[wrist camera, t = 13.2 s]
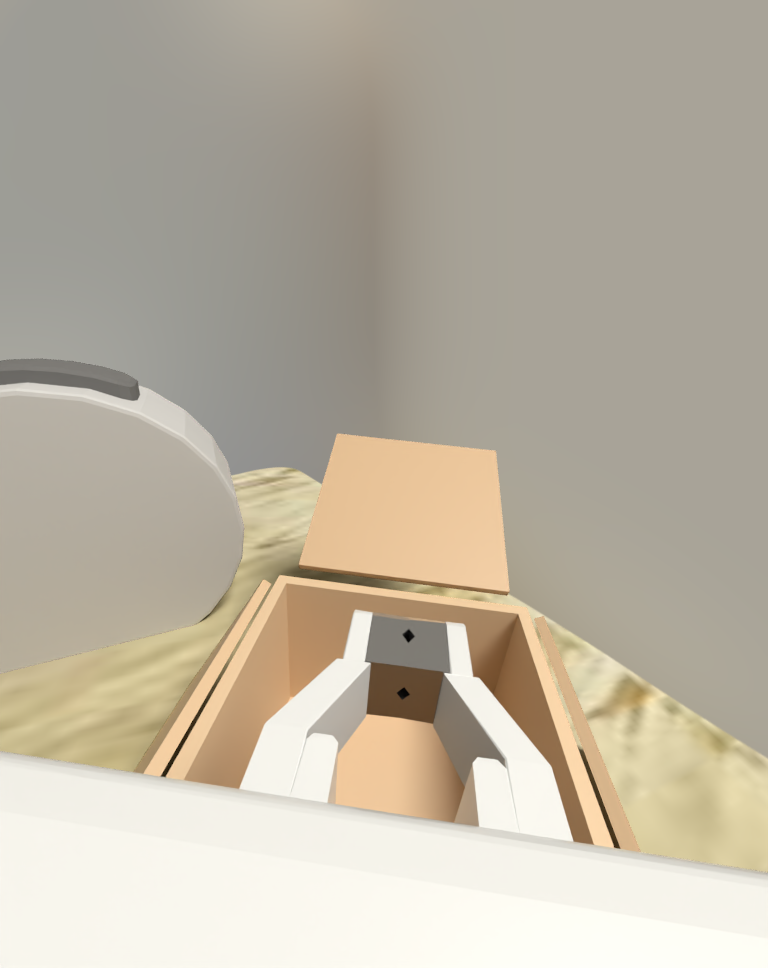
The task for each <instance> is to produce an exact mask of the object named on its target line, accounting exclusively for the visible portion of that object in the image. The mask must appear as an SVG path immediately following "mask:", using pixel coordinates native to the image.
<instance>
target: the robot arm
mask: <svg viewBox="0 0 768 968" xmlns="http://www.w3.org/2000/svg"><path fill="white" fill-rule="evenodd" d="M366 714H369V715H378V716H387V717H395V718H402V719H408V720H414V721H420V722H425V723H431V724H433V727H434V729H435V731H436V733H437V734H438V736H439V738H440V740H441V742H442V744H443V746H444V748H445V750H446V752H447V754H448V756H449V758H450V760H451V762H452V763H453V765H454V767H455V769H456V771H457V773H458V775H459V777H460V779H461V781H462V783H463V785H464V787H465V789H464V792H463V796H462V799H461V802H460V805H459V809H458V812H457V815H456V818H455V821H454V823H453V822H447V821H440V820H434V819H428V818H421V817H415V816H409V815H402V814H396V813H389V812H383V811H377V810H370V809H364V808H358V807H351V806H345V805H338V804H335V800H336V781H337V761H338V753H339V752H340V751H341V749H342V748H343V747H344V745H345V744H346V743H347V741H348V740H349V739H350V737H351V736H352V735H353V733H354V732H355V731H356V729H357V728H358V727H359V725H360V724H361V723H362V721H363V720H364V719H365V717H366ZM0 968H768V872H763V871H757V870H751V869H744V868H738V867H732V866H725V865H719V864H713V863H706V862H700V861H694V860H687V859H681V858H675V857H668V856H662V855H656V854H649V853H643V852H636V851H630V850H624V849H617V848H611V847H605V846H598V845H592V844H586V843H579V842H573V838H572V835H571V831H570V828H569V825H568V821H567V818H566V814H565V811H564V808H563V804H562V801H561V797H560V794H559V791H558V787H557V784H556V780H555V777H554V774H553V770H552V767H551V765H550V764H549V763H548V762H547V760H546V759H545V758H544V757H543V756H542V754H541V753H540V752H539V751H538V749H537V748H536V747H535V746H534V745H533V743H532V742H531V741H530V740H529V738H528V737H527V736H526V735H525V733H524V732H523V731H522V730H521V729H520V727H519V726H518V725H517V724H516V722H515V721H514V720H513V719H512V718H511V716H510V715H509V714H508V713H507V711H506V710H505V709H504V708H503V706H502V705H501V704H500V703H499V702H498V700H497V699H496V698H495V697H494V695H493V694H492V693H491V692H490V691H489V689H488V688H487V687H486V686H485V684H484V683H483V682H482V681H481V679H480V678H477V677H473V672H472V665H471V659H470V652H469V646H468V639H467V632H466V627H465V625H464V624H462V623H453V622H444V621H435V620H427V619H419V618H411V617H402V616H396V615H390V614H383V613H377V612H367V611H361V610H355V611H354V613H353V616H352V620H351V625H350V629H349V633H348V638H347V642H346V646H345V650H344V655H343V659H339V658H337V659H336V660H335V661H333V662H332V663H331V664H330V665H329V666H328V667H327V668H326V669H325V670H323V671H322V672H321V673H320V674H319V675H318V676H317V677H316V678H315V679H313V680H312V681H311V682H310V683H309V684H308V685H307V686H306V687H305V688H303V689H302V690H301V691H300V692H299V693H298V694H297V695H296V696H295V697H293V698H292V699H291V700H290V701H289V702H288V703H287V704H286V705H285V706H284V707H282V708H281V709H280V710H279V711H278V712H277V713H276V714H275V715H274V716H272V717H271V718H270V719H269V720H268V721H267V722H266V723H265V724H264V727H263V729H262V732H261V735H260V737H259V740H258V742H257V745H256V747H255V750H254V752H253V755H252V757H251V760H250V762H249V765H248V768H247V770H246V773H245V775H244V778H243V780H242V783H241V785H240V788H239V789H237V788H230V787H224V786H218V785H211V784H205V783H199V782H192V781H186V780H180V779H173V778H167V777H161V776H154V775H148V774H142V773H135V772H129V771H123V770H116V769H110V768H104V767H97V766H91V765H85V764H79V763H72V762H66V761H60V760H53V759H47V758H41V757H35V756H28V755H22V754H16V753H9V752H3V751H0Z"/></svg>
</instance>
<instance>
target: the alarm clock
mask: <svg viewBox="0 0 768 968" xmlns="http://www.w3.org/2000/svg"><path fill="white" fill-rule="evenodd" d="M243 539H244V524H243V520H242V516H241V512H240V509H239V505H238V501H237V497H236V493H235V489H234V485H233V481H232V477H231V474H230V470H229V466H228V462H227V460H226V459H225V457H224V455H223V454H222V452H221V451H220V449H219V447H218V446H217V444H216V442H215V441H214V439H213V437H212V436H211V435H210V434H209V433H208V432H207V431H206V430H205V429H204V428H203V427H202V426H201V425H200V424H199V423H198V422H197V421H196V420H195V419H194V418H193V417H192V416H191V415H190V414H189V413H188V412H186V411H185V410H184V409H182V408H180V407H179V406H177V405H175V404H174V403H172V402H170V401H169V400H167V399H165V398H164V397H162V396H160V395H158V394H157V393H155V392H153V391H152V390H150V389H147V388H144V387H141V386H138V381H137V380H135V379H134V378H132V377H131V376H129V375H127V374H125V373H123V372H119V371H116V370H112V369H109V368H105V367H101V366H96V365H90V364H85V363H79V362H74V361H63V360H51V359H14V360H3V361H0V674H1V673H5V672H9V671H13V670H17V669H21V668H25V667H29V666H33V665H37V664H41V663H45V662H49V661H53V660H57V659H61V658H65V657H69V656H73V655H77V654H81V653H85V652H89V651H93V650H97V649H101V648H105V647H109V646H113V645H117V644H121V643H125V642H129V641H133V640H137V639H141V638H145V637H149V636H153V635H157V634H161V633H165V632H169V631H173V630H177V629H181V628H185V627H189V626H193V625H195V624H197V623H199V622H200V621H201V620H202V619H203V618H205V617H206V616H207V615H208V614H209V613H211V611H212V610H213V609H214V607H215V606H216V605H217V603H218V602H219V601H220V599H221V598H222V597H223V595H224V594H225V593H226V592H227V590H228V589H229V588H230V586H231V584H232V582H233V579H234V577H235V574H236V572H237V569H238V567H239V564H240V562H241V559H242V552H243Z"/></svg>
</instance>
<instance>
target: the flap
mask: <svg viewBox="0 0 768 968" xmlns="http://www.w3.org/2000/svg"><path fill="white" fill-rule="evenodd" d="M299 568H300V569H308V570H315V571H323V572H331V573H339V574H346V575H354V576H362V577H369V578H377V579H385V580H392V581H400V582H408V583H416V584H423V585H431V586H439V587H446V588H454V589H462V590H469V591H477V592H485V593H493V594H500V595H508V593H509V583H508V571H507V561H506V551H505V540H504V531H503V520H502V509H501V499H500V489H499V479H498V468H497V459H496V451H492V450H483V449H473V448H465V447H455V446H445V445H436V444H428V443H419V442H418V443H417V442H410V441H400V440H390V439H382V438H373V437H363V436H354V435H345V434H337V437H336V440H335V443H334V447H333V450H332V454H331V457H330V460H329V464H328V467H327V470H326V474H325V477H324V480H323V484H322V487H321V490H320V494H319V497H318V501H317V504H316V507H315V511H314V514H313V517H312V521H311V524H310V527H309V531H308V534H307V538H306V541H305V544H304V548H303V551H302V554H301V558H300V561H299Z"/></svg>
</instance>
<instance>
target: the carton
mask: <svg viewBox="0 0 768 968" xmlns="http://www.w3.org/2000/svg"><path fill="white" fill-rule="evenodd" d="M270 585H271V583H269V582H268V581H266V580H264V579H263V581H262V582H261V583H260V585H259V586H258V588H257V589H256V591H255V592H254V593H253V595H252V596H251V598H250V599H249V600H248V602H247V603H246V605H245V606H244V608H243V609H242V610H241V612H240V613H239V615H238V616H237V618H236V619H235V620H234V622H233V623H232V625H231V626H230V628H229V629H228V630H227V632H226V633H225V635H224V636H223V638H222V639H221V640H220V642H219V643H218V645H217V646H216V648H215V649H214V650H213V652H212V653H211V655H210V656H209V658H208V659H207V660H206V662H205V663H204V665H203V666H202V668H201V669H200V670H199V672H198V673H197V675H196V676H195V677H194V679H193V680H192V682H191V683H190V685H189V686H188V688H187V689H186V691H185V692H184V694H183V695H182V697H181V699H180V700H179V702H178V703H177V705H176V706H175V708H174V709H173V711H172V713H171V714H170V716H169V717H168V719H167V720H166V722H165V723H164V725H163V727H162V728H161V730H160V731H159V733H158V734H157V736H156V737H155V739H154V741H153V742H152V744H151V745H150V747H149V748H148V750H147V752H146V753H145V755H144V756H143V758H142V759H141V761H140V762H139V764H138V766H137V767H136V769H135V770H134V772H135V773H142V774H148V775H154V776H161V774H162V773H163V771H164V769H165V768H166V766H167V764H168V762H169V761H170V759H171V757H172V755H173V754H174V752H175V750H176V748H177V747H178V745H179V743H180V742H181V740H182V738H183V736H184V735H185V733H186V731H187V729H188V728H189V726H190V724H191V722H192V721H193V719H194V717H195V716H196V714H197V712H198V710H199V709H200V707H201V705H202V703H203V702H204V700H205V698H206V696H207V695H208V693H209V691H210V689H211V688H212V686H213V684H214V683H215V681H216V679H217V677H218V676H219V674H220V672H221V670H222V669H223V667H224V665H225V663H226V662H227V660H228V658H229V657H230V655H231V653H232V651H233V650H234V648H235V646H236V644H237V643H238V641H239V639H240V637H241V636H242V634H243V632H244V631H245V629H246V627H247V625H248V624H249V622H250V620H251V618H252V617H253V615H254V613H255V611H256V610H257V608H258V606H259V605H260V603H261V601H262V599H263V598H264V596H265V594H266V592H267V591H268V589H269V587H270ZM355 610H361V611H367V612H377V613H383V614H390V615H396V616H402V617H411V618H419V619H427V620H435V621H444V622H453V623H462V624H464V625H465V627H466V632H467V639H468V646H469V652H470V659H471V665H472V672H473V677H477V678H480V679H481V681H482V682H483V683H484V684H485V686H486V687H487V688H488V689H489V691H490V692H491V693H492V694H493V695H494V697H495V698H496V699H497V700H498V702H499V703H500V704H501V705H502V706H503V708H504V709H505V710H506V711H507V713H508V714H509V715H510V716H511V718H512V719H513V720H514V721H515V722H516V724H517V725H518V726H519V727H520V729H521V730H522V731H523V732H524V733H525V735H526V736H527V737H528V738H529V740H530V741H531V742H532V743H533V745H534V746H535V747H536V748H537V749H538V751H539V752H540V753H541V754H542V756H543V757H544V758H545V759H546V760H547V762H548V763H549V764H550V765H551V767H552V770H553V774H554V777H555V780H556V784H557V787H558V791H559V794H560V797H561V801H562V804H563V808H564V811H565V814H566V818H567V821H568V825H569V828H570V831H571V835H572V838H573V842H579V843H586V844H592V845H598V846H605V847H611V848H614V845H613V842H612V840H611V837H610V834H609V831H608V829H607V826H606V823H605V821H604V818H603V815H602V812H601V810H600V807H599V804H598V801H597V799H596V796H595V793H594V790H593V788H592V785H591V782H590V779H589V777H588V774H587V771H586V768H585V766H584V763H583V760H582V757H581V755H580V752H579V749H578V747H577V744H576V741H575V738H574V736H573V733H572V730H571V727H570V725H569V722H568V719H567V716H566V714H565V711H564V708H563V705H562V703H561V700H560V697H559V694H558V692H557V689H556V686H555V684H554V681H553V678H552V675H551V673H550V670H549V667H548V664H547V662H546V659H545V656H544V653H543V651H542V648H541V645H540V642H539V640H538V637H537V634H536V631H535V629H534V626H533V623H532V621H531V618H530V615H529V612H528V610H527V607H519V606H512V605H504V604H497V603H489V602H481V601H474V600H466V599H459V598H451V597H443V596H436V595H428V594H420V593H413V592H405V591H398V590H390V589H382V588H375V587H367V586H359V585H352V584H344V583H337V582H329V581H321V580H314V579H306V578H298V577H291V576H283V575H279V577H278V579H277V580H276V582H275V584H274V586H273V588H272V589H271V591H270V593H269V595H268V596H267V598H266V600H265V602H264V603H263V605H262V607H261V609H260V611H259V612H258V614H257V616H256V618H255V619H254V621H253V623H252V625H251V627H250V628H249V630H248V632H247V634H246V635H245V637H244V639H243V641H242V642H241V644H240V646H239V648H238V650H237V651H236V653H235V655H234V657H233V658H232V660H231V662H230V664H229V665H228V667H227V669H226V671H225V673H224V674H223V676H222V678H221V680H220V681H219V683H218V685H217V687H216V689H215V690H214V692H213V694H212V696H211V697H210V699H209V701H208V703H207V704H206V706H205V708H204V710H203V712H202V713H201V715H200V717H199V719H198V720H197V722H196V724H195V726H194V727H193V729H192V731H191V733H190V735H189V736H188V738H187V740H186V742H185V743H184V745H183V747H182V749H181V751H180V752H179V754H178V756H177V758H176V759H175V761H174V763H173V765H172V766H171V768H170V770H169V772H168V774H167V775H166V777H167V778H173V779H180V780H186V781H192V782H199V783H205V784H211V785H218V786H224V787H230V788H237V789H239V788H240V785H241V783H242V780H243V778H244V775H245V773H246V770H247V768H248V765H249V762H250V760H251V757H252V755H253V752H254V750H255V747H256V745H257V742H258V740H259V737H260V735H261V732H262V729H263V727H264V724H265V723H266V722H267V721H268V720H269V719H270V718H271V717H272V716H274V715H275V714H276V713H277V712H278V711H279V710H280V709H281V708H282V707H284V706H285V705H286V704H287V703H288V702H289V701H290V700H291V699H292V698H293V697H295V696H296V695H297V694H298V693H299V692H300V691H301V690H302V689H303V688H305V687H306V686H307V685H308V684H309V683H310V682H311V681H312V680H313V679H315V678H316V677H317V676H318V675H319V674H320V673H321V672H322V671H323V670H325V669H326V668H327V667H328V666H329V665H330V664H331V663H332V662H333V661H335V660H336V659H337V658H339V659H343V655H344V650H345V646H346V642H347V638H348V633H349V629H350V625H351V620H352V616H353V613H354V611H355ZM534 620H535V622H536V625H537V628H538V630H539V633H540V636H541V638H542V641H543V644H544V646H545V649H546V652H547V654H548V657H549V660H550V662H551V665H552V668H553V670H554V673H555V676H556V678H557V681H558V684H559V686H560V689H561V692H562V694H563V697H564V700H565V702H566V705H567V707H568V710H569V713H570V715H571V718H572V721H573V723H574V726H575V729H576V731H577V734H578V737H579V739H580V742H581V745H582V747H583V750H584V753H585V755H586V758H587V761H588V763H589V766H590V769H591V771H592V774H593V777H594V779H595V782H596V785H597V787H598V790H599V793H600V795H601V798H602V801H603V803H604V806H605V809H606V811H607V814H608V817H609V819H610V822H611V825H612V827H613V830H614V832H615V835H616V838H617V840H618V843H619V846H620V848H621V849H624V850H630V851H636V852H641V851H640V849H639V846H638V844H637V841H636V839H635V837H634V834H633V832H632V829H631V827H630V824H629V822H628V820H627V817H626V815H625V812H624V810H623V807H622V805H621V803H620V800H619V798H618V795H617V793H616V790H615V788H614V786H613V783H612V781H611V778H610V776H609V773H608V771H607V769H606V766H605V764H604V761H603V759H602V756H601V754H600V752H599V749H598V747H597V744H596V742H595V739H594V737H593V735H592V732H591V730H590V727H589V725H588V722H587V720H586V718H585V715H584V713H583V710H582V708H581V705H580V703H579V701H578V698H577V696H576V693H575V691H574V689H573V686H572V684H571V681H570V679H569V676H568V674H567V672H566V669H565V667H564V664H563V662H562V659H561V657H560V655H559V652H558V650H557V647H556V645H555V642H554V640H553V638H552V635H551V633H550V630H549V628H548V625H547V623H546V621H545V618H544V616H542V617H539V618H535V619H534ZM464 789H465V787H464V785H463V783H462V781H461V779H460V777H459V775H458V773H457V771H456V769H455V767H454V765H453V763H452V762H451V760H450V758H449V756H448V754H447V752H446V750H445V748H444V746H443V744H442V742H441V740H440V738H439V736H438V734H437V733H436V731H435V729H434V727H433V724H431V723H425V722H420V721H414V720H408V719H402V718H395V717H387V716H378V715H369V714H366V717H365V719H364V720H363V721H362V723H361V724H360V725H359V727H358V728H357V729H356V731H355V732H354V733H353V735H352V736H351V737H350V739H349V740H348V741H347V743H346V744H345V745H344V747H343V748H342V749H341V751H340V752H339V753H338V761H337V781H336V800H335V804H338V805H345V806H351V807H358V808H364V809H370V810H377V811H383V812H389V813H396V814H402V815H409V816H415V817H421V818H428V819H434V820H440V821H447V822H453V823H454V821H455V818H456V815H457V812H458V809H459V805H460V802H461V799H462V796H463V792H464Z"/></svg>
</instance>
